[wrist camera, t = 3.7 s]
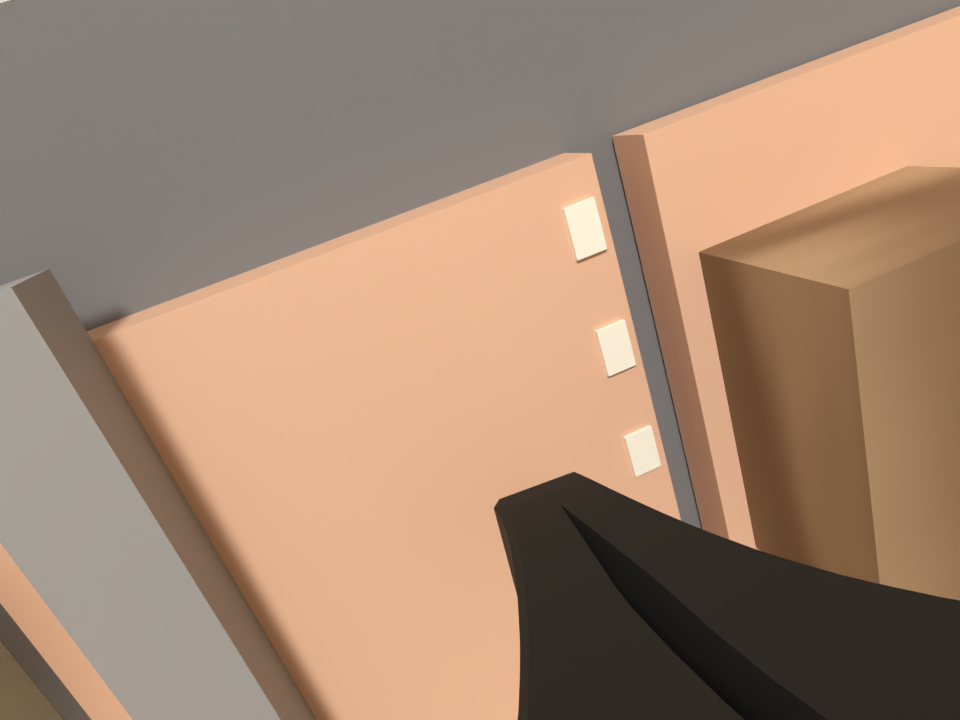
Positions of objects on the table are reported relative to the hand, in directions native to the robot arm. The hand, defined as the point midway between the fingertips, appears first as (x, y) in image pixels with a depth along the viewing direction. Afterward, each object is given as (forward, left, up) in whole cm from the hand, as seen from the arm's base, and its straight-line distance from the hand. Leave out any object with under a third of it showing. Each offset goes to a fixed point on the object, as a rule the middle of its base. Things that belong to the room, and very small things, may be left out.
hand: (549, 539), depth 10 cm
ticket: (-2, 0, -3) cm, 4 cm away
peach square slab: (+8, 0, -3) cm, 9 cm away
